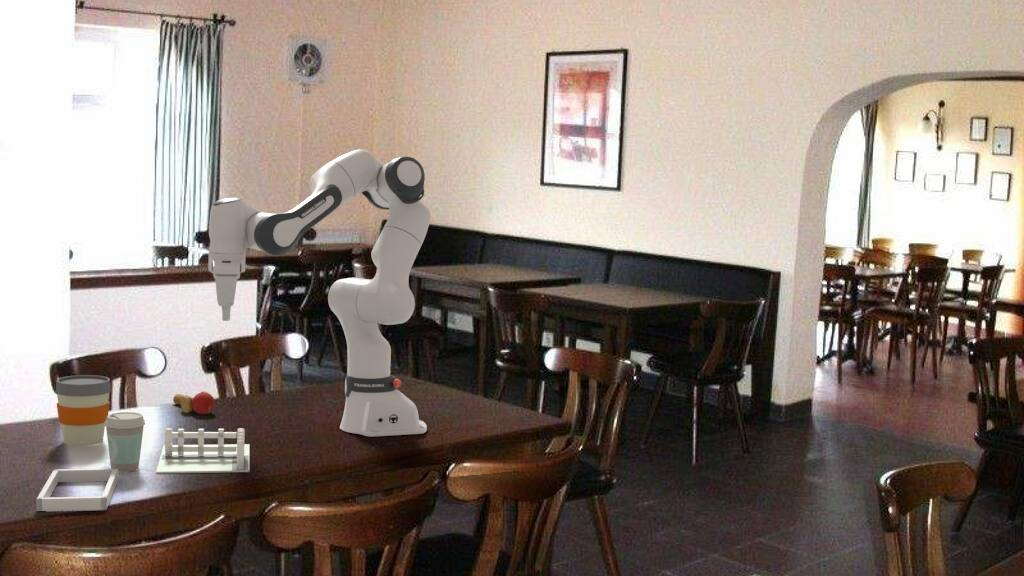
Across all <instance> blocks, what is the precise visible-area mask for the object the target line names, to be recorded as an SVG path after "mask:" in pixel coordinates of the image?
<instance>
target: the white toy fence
mask: <svg viewBox="0 0 1024 576" xmlns="http://www.w3.org/2000/svg"><path fill="white" fill-rule="evenodd" d="M238 430H244V431H245V428H241V427H239V428H237V431H238ZM237 431H225V428H218V430H217V431H205V428H198V430H197V431H185V428H178V429H177V431H173V428H172V427H171V428H165V429H164V437H165V438H164V445H165V455H167V456H170V455H172V452H178V455H184V452H198V455H204V452H218V455H224V452H236V449H237V446H224V444H225V439H237ZM173 439H177V445H178V446H172V445H173ZM185 439H197V445H198V446H184V445H185V444H184V443H185ZM205 439H217V444H218V446H204V445H205ZM245 439H246V435H245V436H244V441H245Z"/></svg>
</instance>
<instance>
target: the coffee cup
mask: <svg viewBox="0 0 1024 576" xmlns="http://www.w3.org/2000/svg"><path fill="white" fill-rule="evenodd" d="M145 425H146V420H145V419H144V416H143V414H142V413H139V412H131V411H123V412H115V413H110V414H108V416H107V419H106V421H105V427H106V428H105V430H106V437H107V445H108V446H107V447H108V455H109V456H108V457H109V463H110V469H113V468H118V473H129V472H130V473H131V472H134V471H137V470H138V469H139V467H140V459H141V449H142V442H143V436H144V435H143V433H144V427H145Z"/></svg>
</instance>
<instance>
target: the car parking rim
mask: <svg viewBox="0 0 1024 576" xmlns="http://www.w3.org/2000/svg"><path fill="white" fill-rule="evenodd" d="M118 481H119V472H118V468H113V469H111V468H71V469H70V468H67V469H66V468H59V469H56V468H55V469H53V470H52V473H51V474H50V475H49V477H48V479H47V480H46V482H45V484H44V485H43V487H42V489H41V491H40V492H39V494H38V496H37V497H36V507H35V508H36V510H35V511H46V512H76V511H77V512H78V511H79V512H83V511H87V512H88V511H107V510H108V507H109V505H110V502H111V499H112V497H113V494H114V491H115V489H116V486H117V483H118ZM77 482H78V483H81V482H107V483H106V486H105V488H104V490H103V493H102V495H101V496H99V495H97V496H59V497H58V496H57V497H55V496H52V494H53V493H54V491H55V489H56V487H57V485H58V483H77ZM52 492H53V493H52ZM62 510H63V511H62ZM67 510H68V511H67ZM72 510H73V511H72Z"/></svg>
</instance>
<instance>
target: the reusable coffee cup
mask: <svg viewBox="0 0 1024 576" xmlns="http://www.w3.org/2000/svg"><path fill="white" fill-rule="evenodd" d="M110 379H111V378H109V377H107V376H104V375H103V376H102V375H96V374H95V375H92V374H91V375H90V374H81V375H80V374H79V375H70V376H69V375H68V376H63V377H58V378H57V379H56V382H55V383H56V384H55V394H56V396H57V402H56V409H57V416H58V423H59V424H60V425H61V433H62V439H63V441H62V442H63V444H64V445H68V446H74V447H83V446H85V447H86V446H93V445H94V446H95V445H97V444H101V443H103V442H104V436H105V430H106V428H105V427H106V426H105V421H106V419H107V416H108V415H109V411H110V403H111V402H110V401H109V398H110V397H109V396H110V393H111V392H112V387H111V380H110Z"/></svg>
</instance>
